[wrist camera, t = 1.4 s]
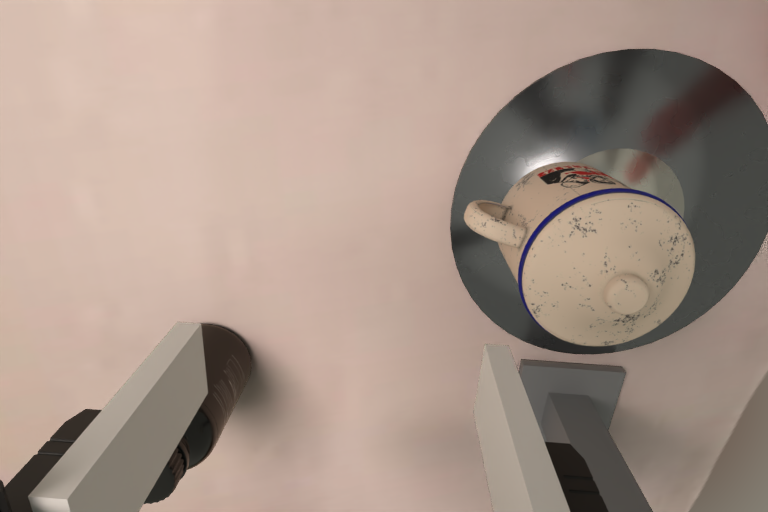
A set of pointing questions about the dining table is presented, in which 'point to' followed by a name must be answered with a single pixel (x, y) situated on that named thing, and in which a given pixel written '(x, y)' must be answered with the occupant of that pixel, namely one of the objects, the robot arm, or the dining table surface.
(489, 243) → the turntable platter
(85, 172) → the dining table surface
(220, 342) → the supplement bottle
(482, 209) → the teacup with lid
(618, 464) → the gauge post
